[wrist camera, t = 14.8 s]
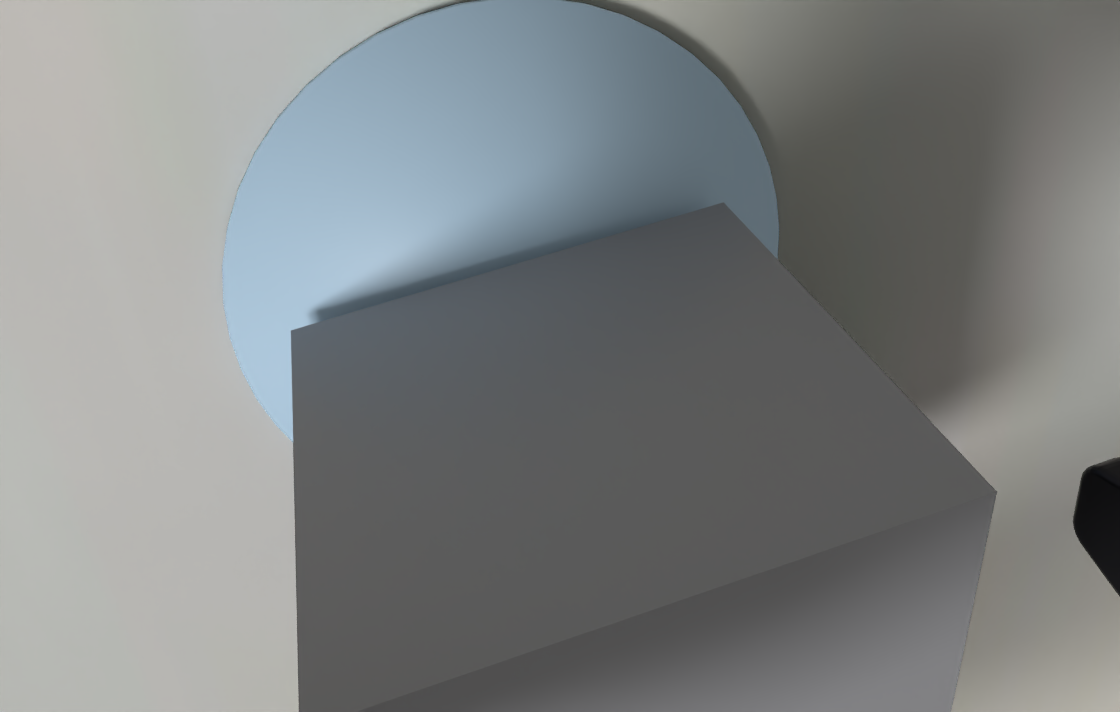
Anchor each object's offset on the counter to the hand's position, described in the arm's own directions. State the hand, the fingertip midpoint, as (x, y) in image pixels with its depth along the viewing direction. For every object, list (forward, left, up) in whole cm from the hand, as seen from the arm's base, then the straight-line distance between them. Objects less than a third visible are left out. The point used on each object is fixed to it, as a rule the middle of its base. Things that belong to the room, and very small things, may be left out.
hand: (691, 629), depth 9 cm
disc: (0, 0, -8) cm, 8 cm away
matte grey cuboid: (-3, -2, -8) cm, 8 cm away
